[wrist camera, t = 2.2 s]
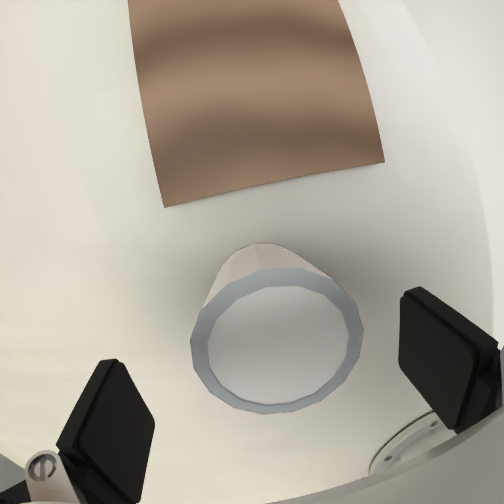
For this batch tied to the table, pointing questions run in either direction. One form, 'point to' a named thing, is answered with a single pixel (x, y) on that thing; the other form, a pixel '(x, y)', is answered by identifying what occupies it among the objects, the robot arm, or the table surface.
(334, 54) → the walnut board
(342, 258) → the table surface
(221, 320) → the white short cylinder
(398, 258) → the table surface
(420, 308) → the robot arm
